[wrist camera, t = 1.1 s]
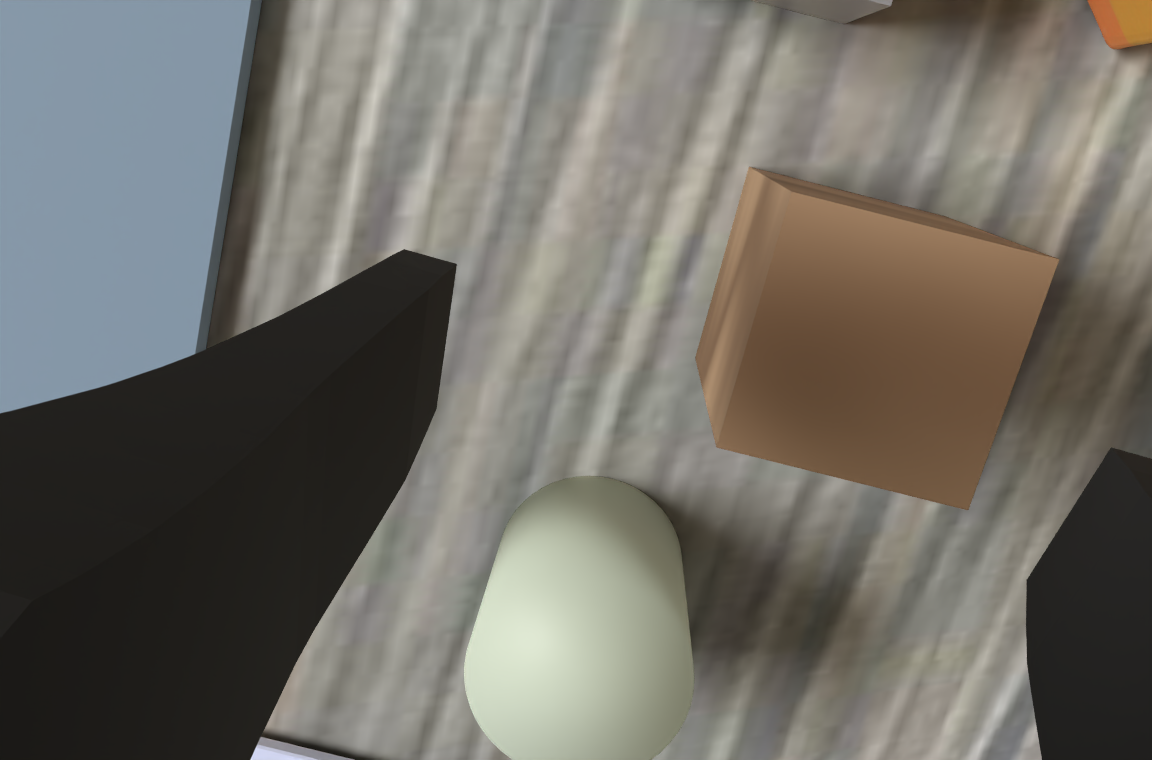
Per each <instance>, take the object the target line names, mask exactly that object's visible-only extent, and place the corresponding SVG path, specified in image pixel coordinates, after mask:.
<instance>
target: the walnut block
mask: <svg viewBox="0 0 1152 760" xmlns="http://www.w3.org/2000/svg"><path fill="white" fill-rule="evenodd" d="M1058 262H1059V259H1057V258H1054V257H1051V256H1049V255H1046V254H1044V253H1041V252H1038V251H1036V250H1033V249H1030V248H1028V247H1025V246H1022V245H1020V244H1017V243H1014V242H1012V241H1009V240H1006V239H1004V238H1001V237H998V236H996V235H993V234H990V233H988V232H985V231H982V230H980V229H977V228H974V227H972V226H969V225H966V224H964V223H961V222H958V221H956V220H953V219H951V218H948V217H945V216H941V215H937V214H934V213H930V212H926V211H922V210H918V209H914V208H910V207H906V206H902V205H898V204H894V203H890V202H886V201H882V200H878V199H874V198H870V197H866V196H862V195H859V194H855V193H851V192H847V191H843V190H839V189H835V188H831V187H827V186H823V185H819V184H815V183H811V182H807V181H803V180H799V179H795V178H791V177H787V176H784V175H780V174H776V173H772V172H768V171H764V170H760V169H756V168H752V167H749V169H748V173H747V176H746V180H745V183H744V187H743V190H742V194H741V197H740V201H739V204H738V208H737V212H736V215H735V219H734V222H733V226H732V229H731V233H730V236H729V240H728V244H727V247H726V251H725V254H724V258H723V261H722V265H721V268H720V272H719V275H718V279H717V283H716V286H715V290H714V293H713V297H712V300H711V304H710V307H709V311H708V315H707V318H706V322H705V325H704V329H703V332H702V336H701V339H700V343H699V346H698V350H697V354H696V357H695V359H696V363H697V367H698V371H699V376H700V380H701V384H702V388H703V392H704V397H705V401H706V405H707V409H708V414H709V418H710V422H711V426H712V430H713V435H714V439H715V443H716V447H717V448H721V449H725V450H729V451H733V452H737V453H741V454H745V455H749V456H753V457H757V458H761V459H765V460H769V461H773V462H777V463H781V464H785V465H789V466H793V467H797V468H801V469H805V470H809V471H813V472H817V473H821V474H825V475H829V476H833V477H837V478H841V479H845V480H849V481H853V482H857V483H861V484H865V485H869V486H873V487H877V488H881V489H885V490H889V491H893V492H897V493H901V494H905V495H909V496H913V497H917V498H921V499H925V500H929V501H933V502H937V503H941V504H945V505H949V506H953V507H957V508H961V509H965V510H968V509H969V507H970V504H971V501H972V498H973V496H974V493H975V490H976V487H977V485H978V482H979V479H980V476H981V474H982V471H983V468H984V465H985V463H986V460H987V457H988V454H989V452H990V449H991V446H992V443H993V441H994V438H995V435H996V432H997V430H998V427H999V424H1000V421H1001V419H1002V416H1003V413H1004V410H1005V408H1006V405H1007V402H1008V399H1009V397H1010V394H1011V391H1012V388H1013V386H1014V383H1015V380H1016V377H1017V375H1018V372H1019V369H1020V366H1021V364H1022V361H1023V358H1024V355H1025V353H1026V350H1027V347H1028V344H1029V342H1030V339H1031V336H1032V333H1033V331H1034V328H1035V325H1036V322H1037V320H1038V317H1039V314H1040V311H1041V309H1042V306H1043V303H1044V300H1045V298H1046V295H1047V292H1048V289H1049V287H1050V284H1051V281H1052V278H1053V276H1054V273H1055V270H1056V267H1057V265H1058Z"/></svg>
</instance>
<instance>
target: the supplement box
mask: <svg viewBox="0 0 1152 760" xmlns="http://www.w3.org/2000/svg"><path fill="white" fill-rule="evenodd" d="M1087 1H1088V3H1089V5H1090V7H1091V10H1092V12H1093V14H1094V16H1095V19H1096V21H1097V23H1098V25H1099V27H1100V30H1101V32H1102V35H1103V37H1104V39H1105V41H1106V43H1107V44H1108V45H1109V47H1110V48H1112V49H1122V48H1126V47H1131V46H1136V45H1142V44H1148V43H1152V0H1087Z"/></svg>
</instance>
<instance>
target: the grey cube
mask: <svg viewBox="0 0 1152 760" xmlns="http://www.w3.org/2000/svg"><path fill="white" fill-rule="evenodd" d="M751 1H755V2H759V3H763V4H767V5H771V6H775V7H779V8H782V9H786V10H790V11H794V12H798V13H802V14H806V15H810V16H814V17H818V18H822V19H826V20H830V21H834V22H838V23H842V24H845V23H848V22H851V21H853V20H856V19H859V18H861V17H864V16H866V15H869V14H872V13H874V12H877V11H879V10H882V9H885V8H887V7H890V6H891V4H892V1H893V0H751Z"/></svg>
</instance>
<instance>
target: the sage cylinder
mask: <svg viewBox="0 0 1152 760" xmlns="http://www.w3.org/2000/svg"><path fill="white" fill-rule="evenodd" d="M464 681H465V689H466V694H467V698H468V701H469V705H470V707H471V710H472V712H473V714H474V717H475V719H476V720H477V722H478V724H479V725H480V727H481V729H482V730H483V732H484V733H485V734H486V735H487V737H488V738H489V739H490V740H491V741H492V742H493V743H494V744H495V745H496V746H497V747H498V748H499V749H500V750H501V751H502V752H503V753H505V754H506V755H507V756H508V757H510V758H511V759H512V760H651V759H652V758H654V757H655V756H656V755H658V754H659V753H660V752H661V751H662V750H663V749H664V748H665V747H666V746H667V745H668V744H669V743H670V742H671V741H672V740H673V738H674V737H675V736H676V734H677V733H678V732H679V730H680V728H681V726H682V725H683V723H684V721H685V719H686V717H687V714H688V711H689V709H690V706H691V701H692V697H693V691H694V666H693V657H692V647H691V638H690V629H689V619H688V610H687V601H686V591H685V582H684V573H683V563H682V554H681V548H680V543H679V540H678V537H677V534H676V531H675V529H674V527H673V525H672V523H671V521H670V520H669V518H668V517H667V515H666V514H665V513H664V511H663V510H662V509H661V508H660V507H659V506H658V505H657V504H656V502H655V501H653V500H652V499H651V498H650V497H648V496H647V495H646V494H645V493H643V492H641V491H640V490H638V489H637V488H635V487H633V486H631V485H628V484H626V483H624V482H621V481H618V480H615V479H611V478H605V477H598V476H580V477H572V478H567V479H563V480H560V481H557V482H554V483H551V484H549V485H547V486H545V487H543V488H541V489H540V490H538V491H537V492H535V493H533V494H532V495H531V496H530V497H528V498H527V499H526V500H525V501H524V502H523V503H522V504H521V505H520V506H519V507H518V508H517V510H516V511H515V512H514V514H513V515H512V517H511V518H510V520H509V522H508V524H507V526H506V528H505V530H504V533H503V536H502V539H501V543H500V546H499V549H498V552H497V555H496V559H495V562H494V565H493V568H492V571H491V575H490V578H489V581H488V584H487V588H486V591H485V594H484V597H483V600H482V604H481V607H480V610H479V613H478V616H477V620H476V623H475V626H474V629H473V633H472V636H471V639H470V642H469V645H468V649H467V652H466V658H465V664H464Z"/></svg>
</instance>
